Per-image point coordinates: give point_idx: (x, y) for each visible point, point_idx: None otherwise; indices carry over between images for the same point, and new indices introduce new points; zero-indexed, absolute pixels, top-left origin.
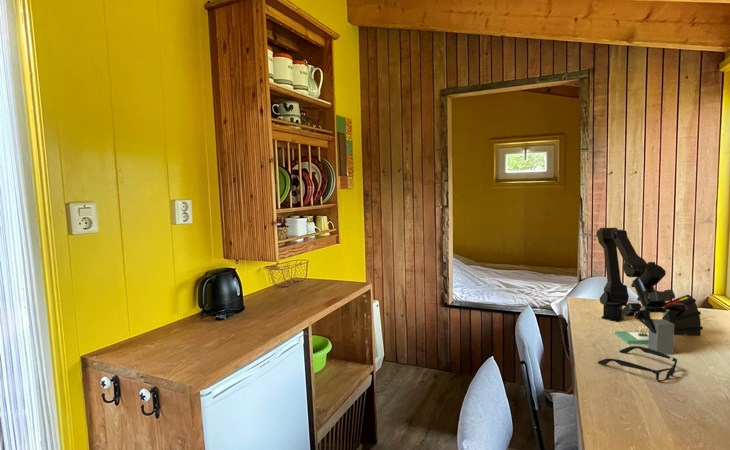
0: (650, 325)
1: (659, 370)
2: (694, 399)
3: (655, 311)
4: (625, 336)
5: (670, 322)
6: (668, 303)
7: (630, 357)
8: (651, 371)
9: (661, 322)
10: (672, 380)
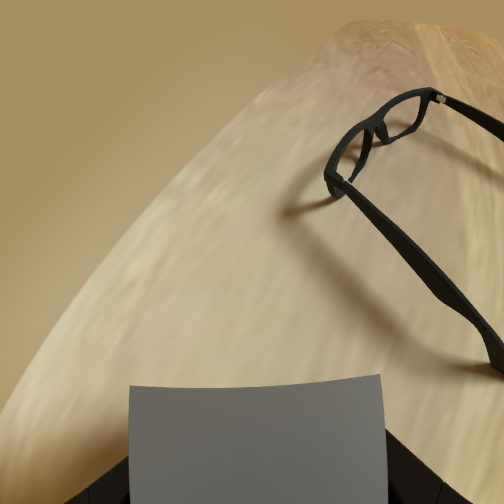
0: (417, 468)
1: (422, 89)
2: (347, 74)
3: None
4: None
5: (132, 471)
6: None
7: None
8: (442, 100)
9: (279, 474)
10: None
